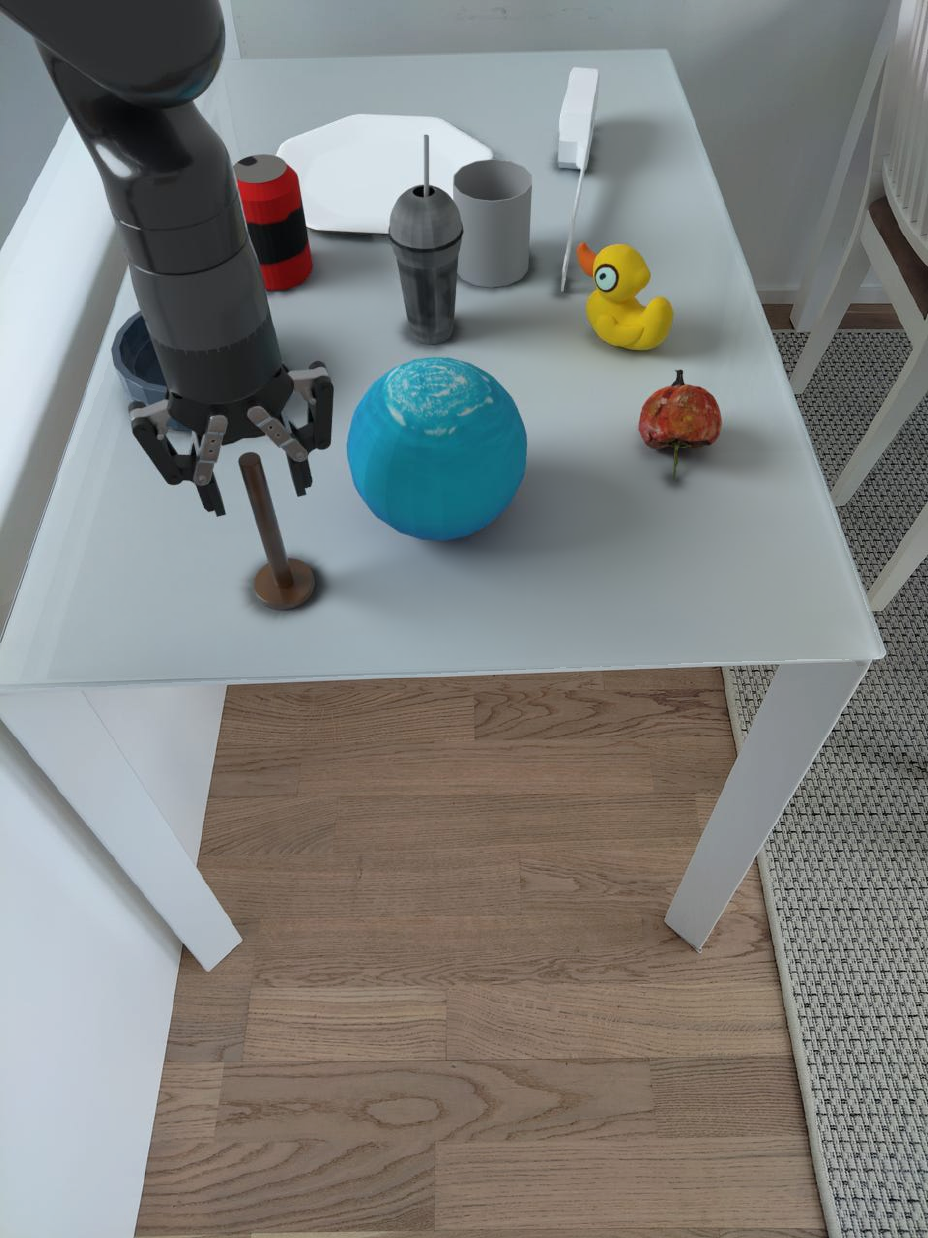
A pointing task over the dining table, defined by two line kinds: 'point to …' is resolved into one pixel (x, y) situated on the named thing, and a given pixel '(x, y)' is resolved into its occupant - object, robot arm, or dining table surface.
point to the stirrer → (273, 545)
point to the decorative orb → (437, 448)
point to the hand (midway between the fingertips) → (260, 497)
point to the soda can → (275, 220)
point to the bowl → (141, 365)
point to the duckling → (623, 298)
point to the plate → (373, 167)
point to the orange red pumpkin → (680, 418)
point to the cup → (493, 221)
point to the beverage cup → (427, 256)
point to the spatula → (577, 133)
